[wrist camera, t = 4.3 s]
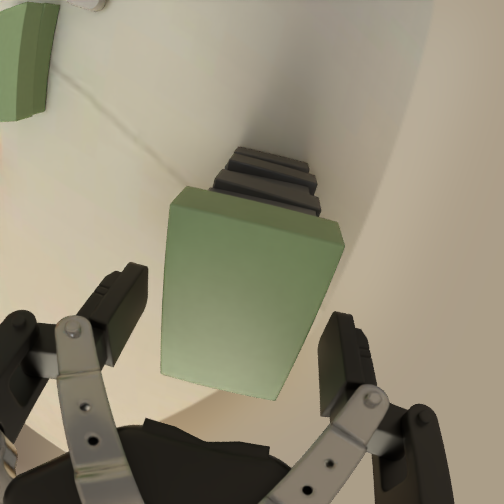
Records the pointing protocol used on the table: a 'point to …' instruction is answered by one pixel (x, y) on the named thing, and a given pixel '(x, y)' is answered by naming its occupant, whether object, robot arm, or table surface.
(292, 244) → the sage book
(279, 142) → the table surface
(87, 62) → the table surface
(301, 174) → the grey stack
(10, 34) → the green stack
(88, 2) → the game controller
